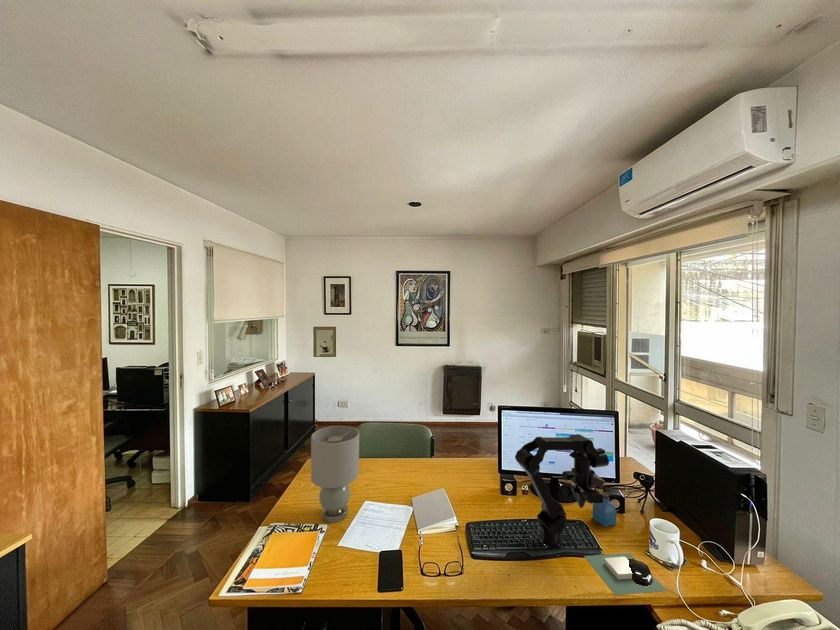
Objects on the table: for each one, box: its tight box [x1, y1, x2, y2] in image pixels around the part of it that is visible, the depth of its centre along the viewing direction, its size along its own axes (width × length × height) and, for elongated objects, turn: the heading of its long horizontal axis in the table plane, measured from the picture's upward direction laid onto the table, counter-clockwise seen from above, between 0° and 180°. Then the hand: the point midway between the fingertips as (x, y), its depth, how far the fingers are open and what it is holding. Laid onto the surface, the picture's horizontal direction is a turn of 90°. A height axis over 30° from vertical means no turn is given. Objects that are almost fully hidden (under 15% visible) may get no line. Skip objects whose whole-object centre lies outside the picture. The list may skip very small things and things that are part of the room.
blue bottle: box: [592, 491, 617, 528], centre depth 137 cm, size 6×6×12 cm
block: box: [604, 557, 633, 580], centre depth 110 cm, size 8×2×7 cm
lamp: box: [310, 425, 360, 524], centre depth 138 cm, size 20×20×35 cm
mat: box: [583, 552, 668, 596], centre depth 110 cm, size 18×16×1 cm
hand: (581, 507), depth 127 cm, fingers closed
